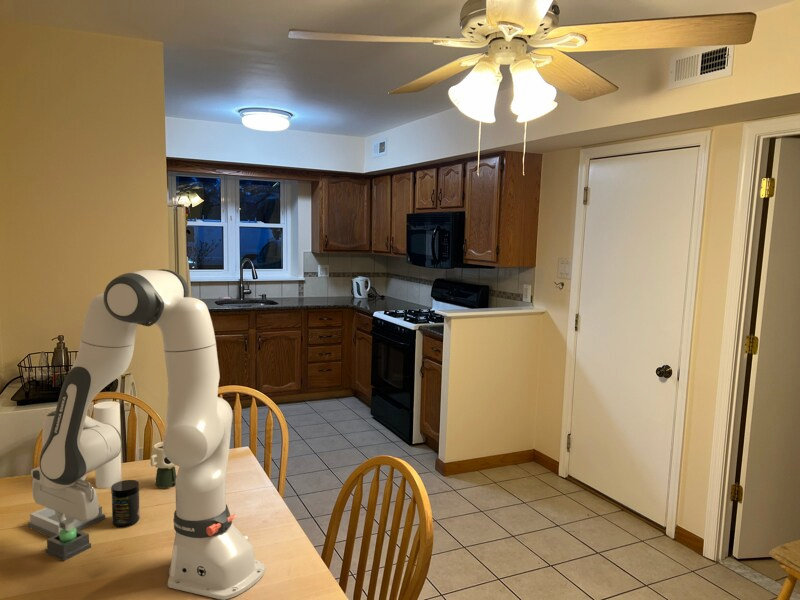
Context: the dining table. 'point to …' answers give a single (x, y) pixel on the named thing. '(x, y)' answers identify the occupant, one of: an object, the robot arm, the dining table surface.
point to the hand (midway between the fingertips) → (66, 528)
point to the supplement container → (125, 503)
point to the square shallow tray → (56, 521)
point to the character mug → (163, 467)
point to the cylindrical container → (112, 469)
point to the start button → (67, 535)
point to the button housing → (67, 546)
